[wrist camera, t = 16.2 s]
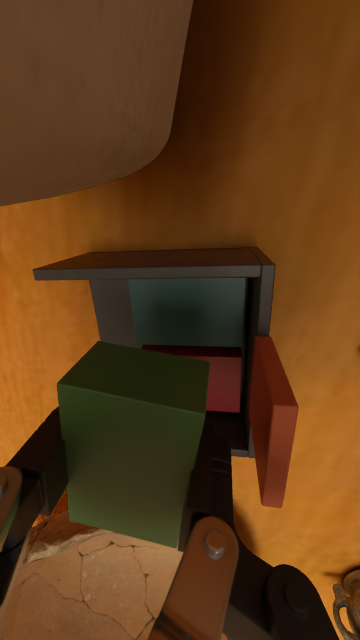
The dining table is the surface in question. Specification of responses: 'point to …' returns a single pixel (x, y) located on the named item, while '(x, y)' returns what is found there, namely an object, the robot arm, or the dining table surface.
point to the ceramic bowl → (88, 584)
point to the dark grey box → (258, 348)
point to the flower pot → (85, 91)
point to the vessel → (348, 605)
